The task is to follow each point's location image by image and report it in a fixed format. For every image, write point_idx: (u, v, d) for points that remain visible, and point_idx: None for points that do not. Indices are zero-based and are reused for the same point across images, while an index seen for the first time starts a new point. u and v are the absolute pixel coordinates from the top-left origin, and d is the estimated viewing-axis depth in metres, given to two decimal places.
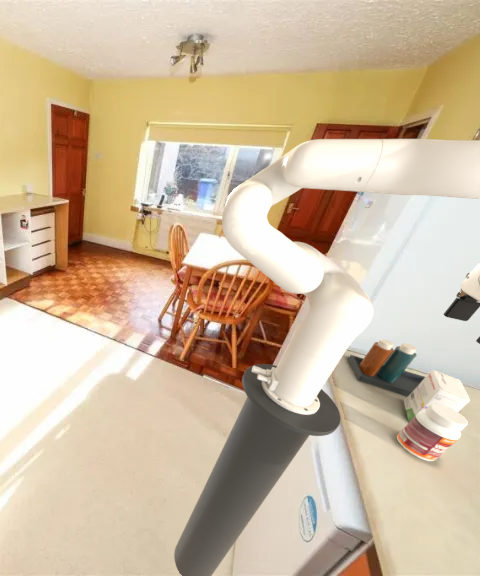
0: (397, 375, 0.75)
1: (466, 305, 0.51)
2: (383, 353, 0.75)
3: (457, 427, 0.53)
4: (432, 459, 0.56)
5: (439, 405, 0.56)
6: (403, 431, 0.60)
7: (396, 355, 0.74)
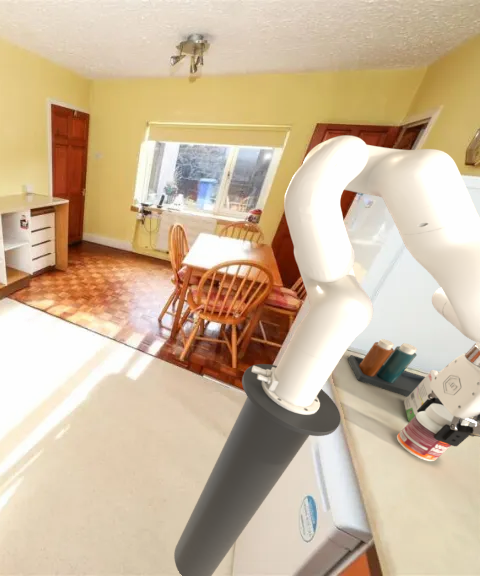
0: (397, 375, 0.75)
1: None
2: (383, 353, 0.75)
3: None
4: (432, 459, 0.56)
5: (439, 405, 0.56)
6: (403, 431, 0.60)
7: (396, 355, 0.74)
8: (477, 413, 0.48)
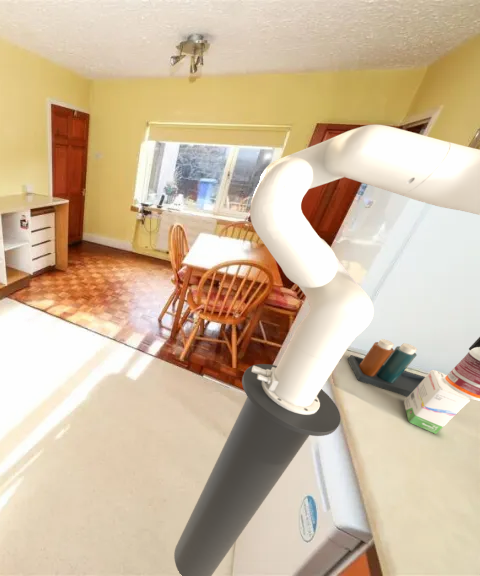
0: (397, 375, 0.75)
1: None
2: (383, 353, 0.75)
3: None
4: None
5: None
6: (453, 371, 0.53)
7: (396, 355, 0.74)
8: None
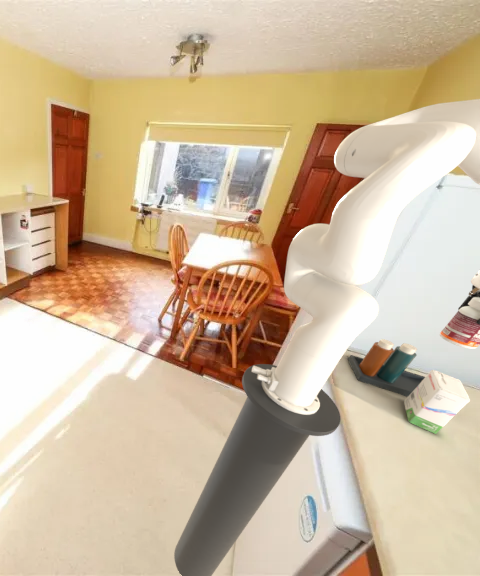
0: (397, 375, 0.75)
1: None
2: (383, 353, 0.75)
3: None
4: (474, 346, 0.64)
5: None
6: (446, 327, 0.67)
7: (396, 355, 0.74)
8: None
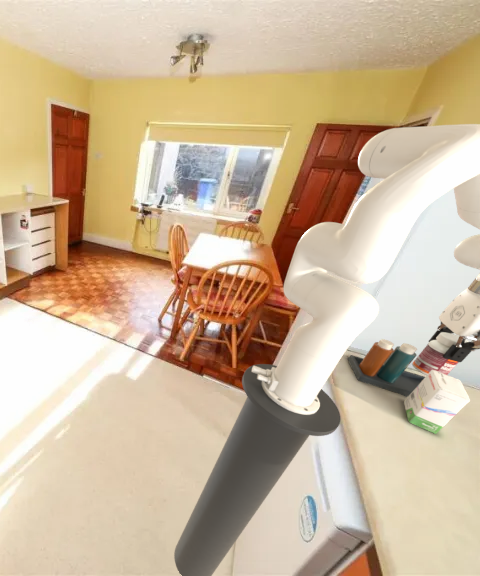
0: (397, 375, 0.75)
1: None
2: (383, 353, 0.75)
3: None
4: None
5: (447, 333, 0.70)
6: (417, 358, 0.73)
7: (396, 355, 0.74)
8: (477, 330, 0.62)
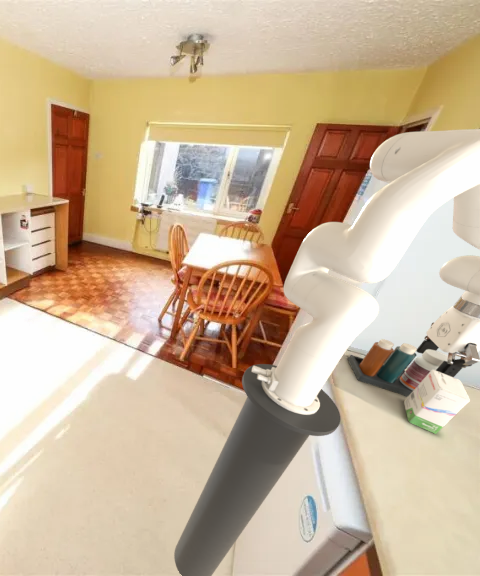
0: (397, 375, 0.75)
1: (430, 345, 0.74)
2: (383, 353, 0.75)
3: None
4: None
5: (432, 350, 0.73)
6: (404, 373, 0.76)
7: (396, 355, 0.74)
8: (462, 347, 0.64)
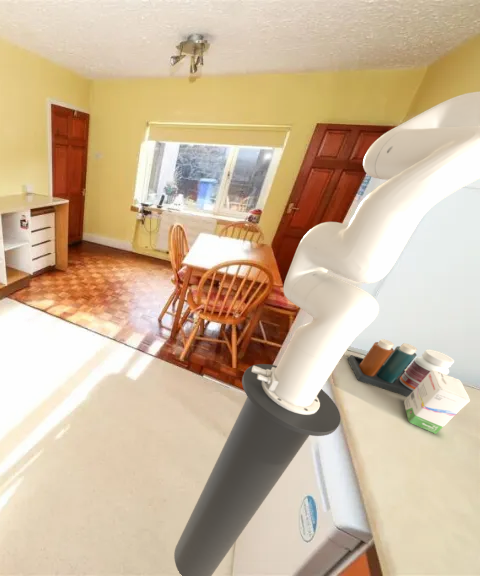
0: (397, 375, 0.75)
1: None
2: (383, 353, 0.75)
3: (446, 364, 0.69)
4: None
5: (432, 350, 0.73)
6: (404, 373, 0.76)
7: (396, 355, 0.74)
8: None
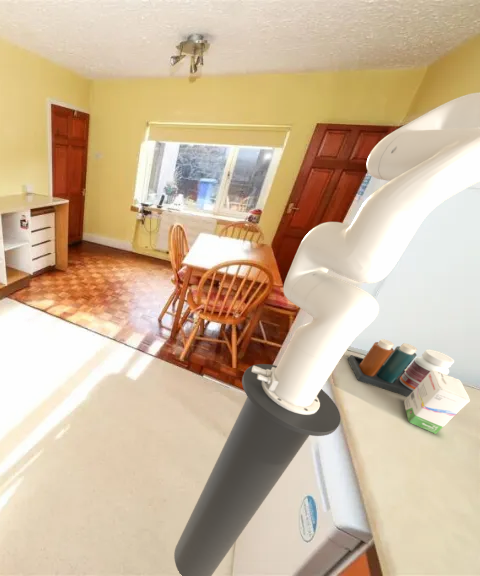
0: (397, 375, 0.75)
1: None
2: (383, 353, 0.75)
3: (446, 364, 0.69)
4: None
5: (432, 350, 0.72)
6: (404, 373, 0.76)
7: (396, 355, 0.74)
8: None
